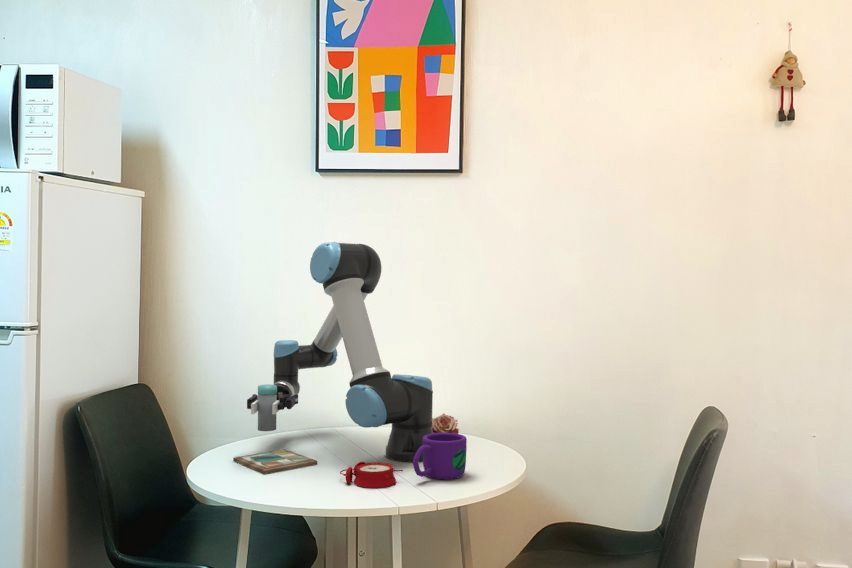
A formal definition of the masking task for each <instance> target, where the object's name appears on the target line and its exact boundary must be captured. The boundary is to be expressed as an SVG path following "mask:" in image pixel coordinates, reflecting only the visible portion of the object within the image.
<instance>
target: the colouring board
mask: <svg viewBox="0 0 852 568" xmlns="http://www.w3.org/2000/svg"><path fill="white" fill-rule="evenodd" d="M233 461H235V462H234V463H236V462H237V463H236V464H238V463H239V465H240V466H243V467H245V466H246V468H248V469H251V470H253V471H255V472H257V473H260V474H263V476H264V475H265V476H266V475H269V474H274V473H279V472H286V471H290V470H296V469H300V468H301V469H302V468H306V467H312V466H316V465H317V466H318V459H317V460H316V459H314V458H311V457H308V456H305V455H302V454H300V453H296V452H293V451H290V450H287V449H278V450H272V451H266V452H259V453H254V454H249V455H248V454H247V455H242V456H235V457H232V462H233Z"/></svg>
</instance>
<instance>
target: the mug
mask: <svg viewBox="0 0 852 568" xmlns="http://www.w3.org/2000/svg"><path fill="white" fill-rule="evenodd" d="M467 448H468V447H467V437H466V436H465V435H463V434H460V433H458V434H456V433H432V434H428V435H425V436H424V437H423V445H422V446H421V447H420V448H419V449H418V450H417V452H416V454H415V456H414V459H413V462H412V465H413V470H414V472H415V474H416V475H417V476H419V477H428V478H430V479H433V480H440V481H443V480H444V481H449V480H450V481H451V480H457V479H459V478H461V477H462V476H463V475H464V474H465V472H466V471H465V470H466V466H467ZM422 452H423V461H422V465H423V470H421V467H420V466H419V465H420V464H419V462H420V461H419V459H420V456H421V454H422Z"/></svg>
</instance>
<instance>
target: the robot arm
mask: <svg viewBox="0 0 852 568" xmlns="http://www.w3.org/2000/svg"><path fill="white" fill-rule="evenodd" d="M309 273H310V276H311V278H312V280H314V281H315V282H316V283H318V284H322V287H323V291H324V293H325V294H326V295H328V296H329V297H331V301H332V304H333V305H332V308H331V309H330V311H329V312H328V314H327V316H326V317H325V320H324V322H323V323H322V325H321V327H320V328H319V331H318V332H317V334H316V335H315V338H314V339H313V341H312V343H311V344H303V345H301V344H300V345H299V341H298V340H293V339H287V340H286V339H282V340H277V341H276V342H275V343H274V347H273V371H274V372H273V384H272V385H277V401H276V402H274V403H273V404H272V414H276V415H277V413H279V412H280V411H283V410H285V408H286V410H292V408H293V407H294V406H295V405H298V404H299V394H300V389H301V386H300V383H299V370H304V369H305V370H306V369H314V368H315V369H316V368H325V367H326V368H327V367H330V366H333V365H334V364H336V362H337V360H338V359H337V357H338V349H337V347H338V345H339V343H340V342H341V340H343V341H342V342H343V344H344V348H345V352H346V356H347V358H348V359H347V360H348V362H349V366H350V370H351V374H352V377H351V379H350V381H349V382H348V384H349V389H348V391H347V392H346V394H345V397H346V399H345V409H346V411H347V414H348V415H349V417H350V419H351V421H352V422H354V423H355V424H357V425H358V426H359V427H361V428H367V429H368V428H369V429H370V428H378V427H382V426H385V425H390V424H391V431H390V433H389V437H388V441H387V445H386V446H385V458H387V459H389V460H393V461H397V462H408V463H409V462H412V463H413V459H414V456H415V454H416V452H417V450H418V449H419V448H420V447H421V446H422V445H423V437H424V436H425V435H428V434H432V433H433V430H432V418H433V393H434V391H433V381H432V380H431V379H430V378H429V377H428V376H427V377H426V376H420V375H409V374H396V373H395V374H392V375H391V372H390V371H389V370H388V369H386V368H384V367H383V364H382V360H381V357H380V353H379V350H378V346H377V342H376V339H375V335H374V332H373V328H372V325H371V321H370V317H369V315H368V314H369V313H368V310H367V307H366V304H365V300H366V298H367V296H368V295H369V294H372V293H373V292H374V291H375V289H376V287H377V285H378V283H379V282H380V279H381V274H382V261H381V259H380V256H379V254H378V253H377V251H376V250H375V249H374V248H373V247H371V246H369V245H367V244H363V243H348V242H347V243H346V242H336V241H332V242H323V243H321V244H319V245H318V246H317V247H316V248H315V249H314V250H313V252H312V255H311V258H310V263H309ZM246 409H247V410H250V414H251V415H255V414H256V413H258V394H256V393H254V394H252V395H251V396H250V397H249V398H247V399H246ZM419 462H423V452H422V454H421V456H420V459H419Z"/></svg>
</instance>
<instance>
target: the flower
mask: <svg viewBox="0 0 852 568" xmlns="http://www.w3.org/2000/svg"><path fill="white" fill-rule="evenodd" d="M458 424H459V423H458V419H455V418H454V416H452V415H447V414H445V413H443V414H440V415H438V416H436V417H432V430H433V433H456V434H460V433H459V431H460V429H459V428H458Z"/></svg>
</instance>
